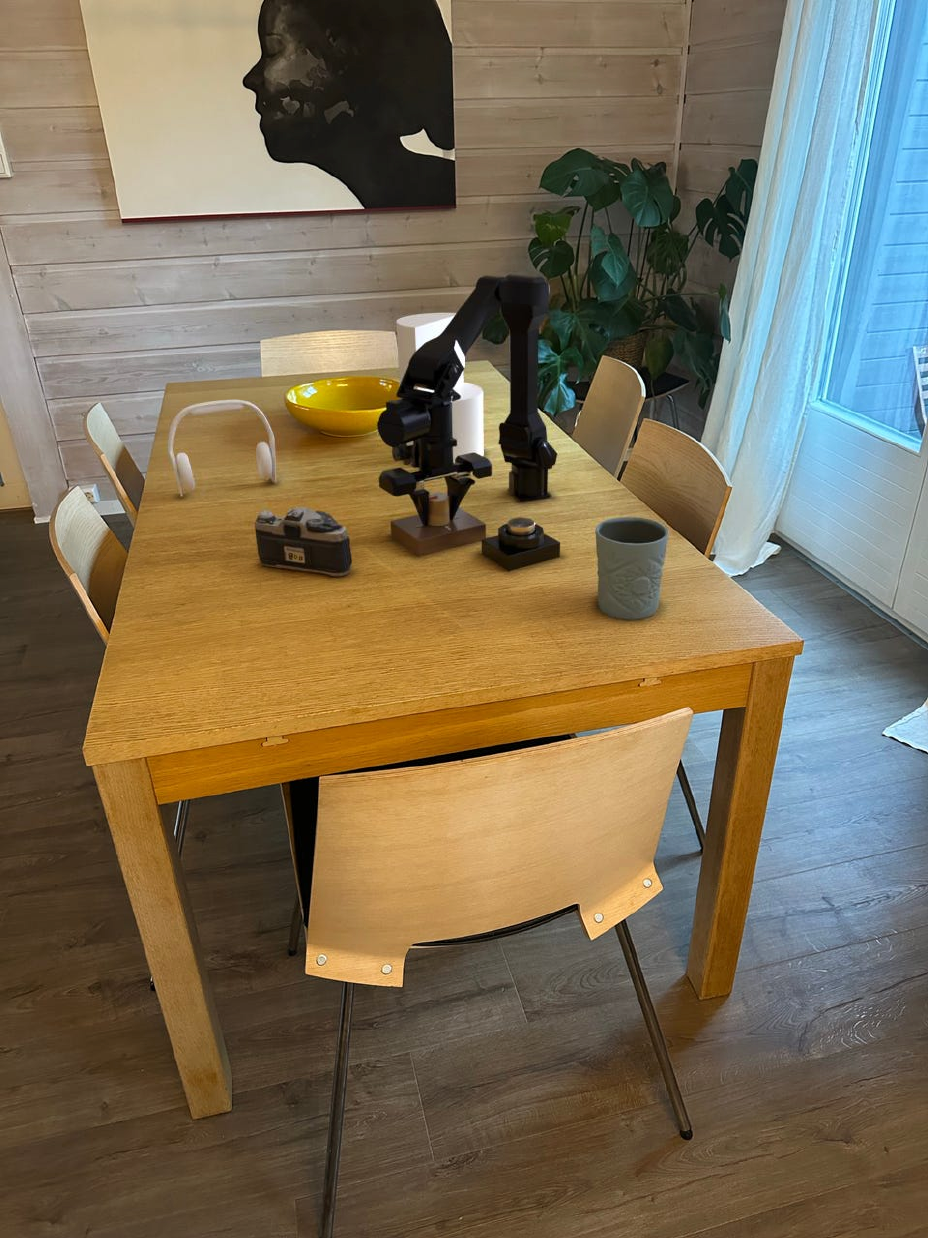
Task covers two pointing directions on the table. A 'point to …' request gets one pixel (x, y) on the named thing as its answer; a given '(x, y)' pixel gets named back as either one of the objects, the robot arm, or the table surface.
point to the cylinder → (470, 405)
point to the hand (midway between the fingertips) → (437, 522)
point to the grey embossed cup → (630, 566)
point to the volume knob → (438, 509)
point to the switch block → (520, 548)
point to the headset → (263, 453)
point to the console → (437, 533)
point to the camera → (303, 542)
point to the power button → (520, 527)
